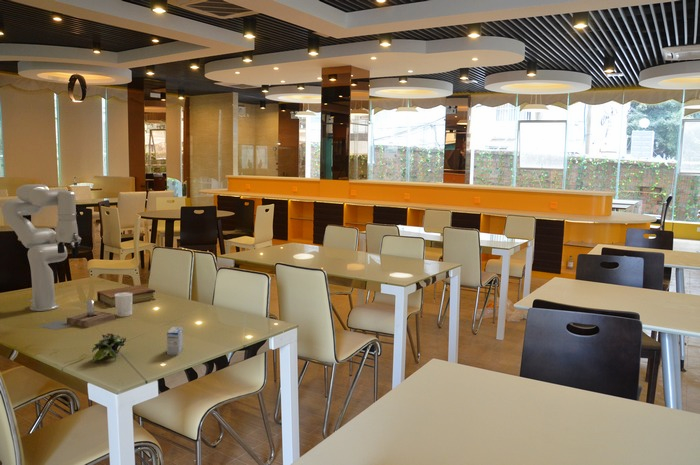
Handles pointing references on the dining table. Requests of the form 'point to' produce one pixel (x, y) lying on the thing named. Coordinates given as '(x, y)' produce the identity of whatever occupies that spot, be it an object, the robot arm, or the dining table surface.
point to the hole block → (90, 319)
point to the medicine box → (174, 340)
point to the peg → (90, 308)
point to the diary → (138, 292)
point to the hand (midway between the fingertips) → (68, 254)
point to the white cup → (123, 304)
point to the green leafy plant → (108, 346)
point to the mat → (56, 325)
